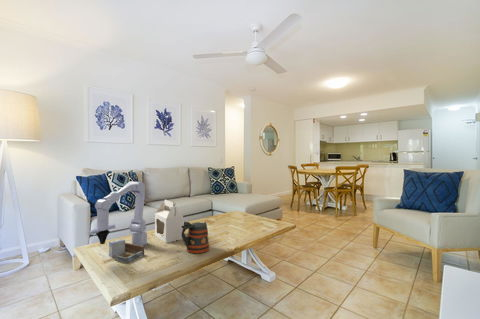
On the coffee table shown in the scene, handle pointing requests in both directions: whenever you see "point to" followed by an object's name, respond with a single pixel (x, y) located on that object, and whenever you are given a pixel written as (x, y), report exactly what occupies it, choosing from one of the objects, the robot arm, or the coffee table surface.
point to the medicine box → (116, 247)
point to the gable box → (168, 222)
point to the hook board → (131, 248)
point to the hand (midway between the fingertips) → (102, 243)
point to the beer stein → (196, 237)
